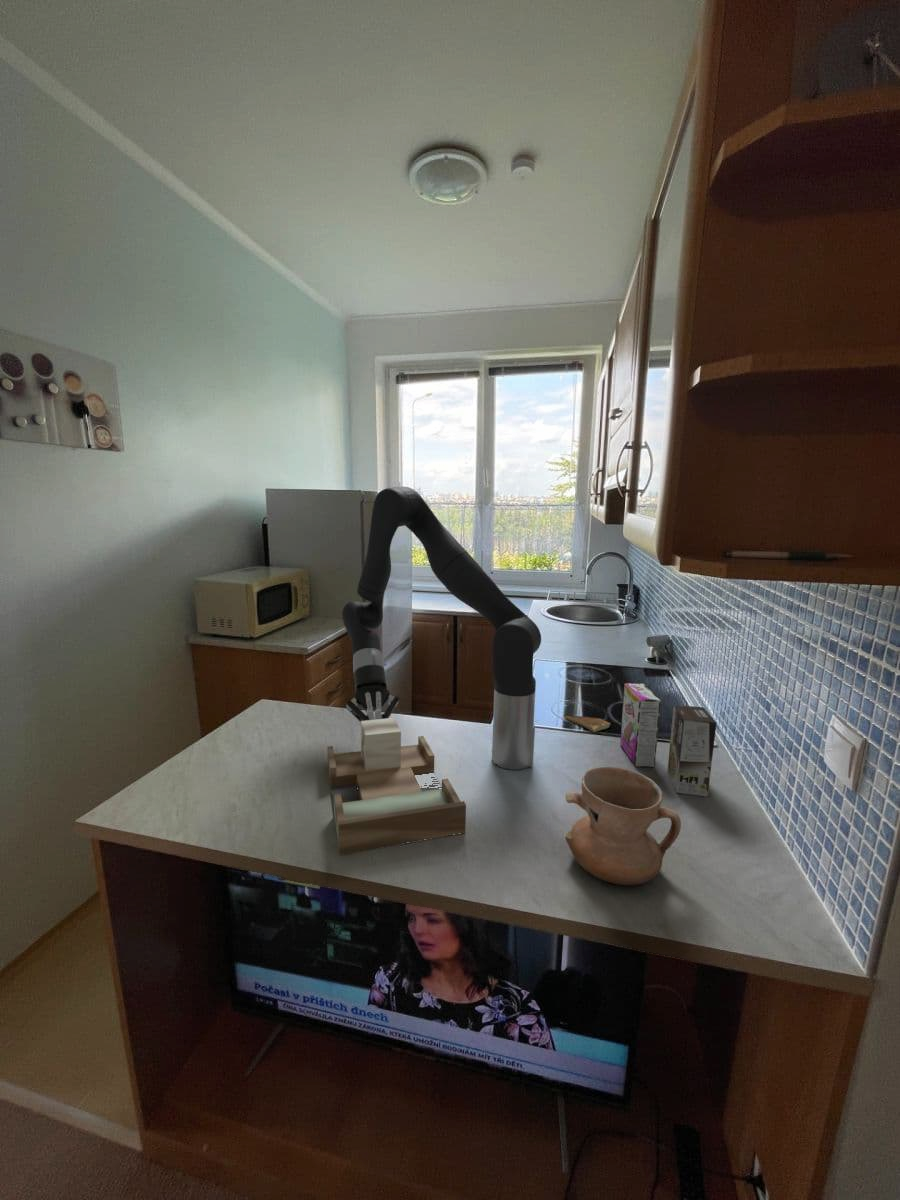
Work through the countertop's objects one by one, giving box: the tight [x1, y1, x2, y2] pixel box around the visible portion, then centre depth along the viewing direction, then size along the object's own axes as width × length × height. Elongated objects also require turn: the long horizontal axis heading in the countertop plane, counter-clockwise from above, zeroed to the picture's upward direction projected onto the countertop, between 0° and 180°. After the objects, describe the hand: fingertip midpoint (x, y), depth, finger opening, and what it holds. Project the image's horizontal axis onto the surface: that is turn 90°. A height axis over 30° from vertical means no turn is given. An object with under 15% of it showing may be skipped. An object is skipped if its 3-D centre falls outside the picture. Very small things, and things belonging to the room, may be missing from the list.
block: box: [360, 717, 402, 771], centre depth 110 cm, size 8×8×8 cm
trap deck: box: [326, 735, 467, 856], centre depth 101 cm, size 31×22×6 cm
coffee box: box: [666, 704, 718, 797], centre depth 107 cm, size 9×6×16 cm
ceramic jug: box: [564, 765, 682, 886], centre depth 81 cm, size 18×14×14 cm
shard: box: [563, 714, 611, 733], centre depth 139 cm, size 11×8×2 cm
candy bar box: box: [619, 682, 662, 768], centre depth 119 cm, size 11×5×16 cm, turn 179°
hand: (377, 738), depth 115 cm, fingers closed
